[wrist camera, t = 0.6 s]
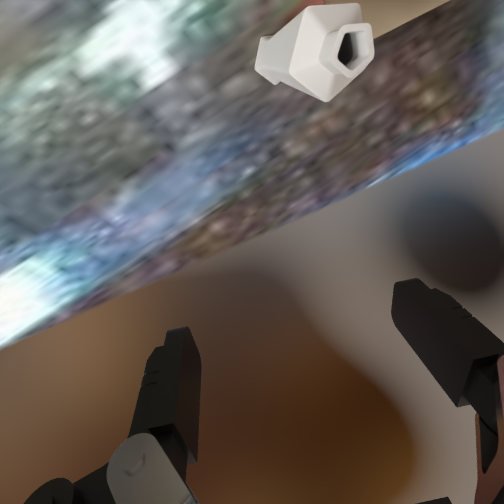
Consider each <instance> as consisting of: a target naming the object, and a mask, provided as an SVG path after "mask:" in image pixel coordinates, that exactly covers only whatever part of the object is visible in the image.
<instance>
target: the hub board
mask: <svg viewBox="0 0 504 504" xmlns="http://www.w3.org/2000/svg"><path fill="white" fill-rule="evenodd" d="M447 1H449V0H324V3H325V5H331V4H347V3H358V4H359V5H360V7H361V13H362V21H363V23H369V24H370V25H371V28H372V36H373V39H375V38H377V37H379V36H381V35H383V34H385V33H387V32H389V31H391V30H393V29H395V28H397V27H398V26H400V25H402V24H404V23H406V22H408V21H410V20H412V19H414V18H416V17H418V16H420V15H422V14H424V13H426V12H428V11H430V10H432V9H434V8H436V7H438V6H440V5H442V4H444V3H445V2H447Z"/></svg>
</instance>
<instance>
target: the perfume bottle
mask: <svg viewBox="0 0 504 504" xmlns="http://www.w3.org/2000/svg"><path fill="white" fill-rule="evenodd" d="M373 57H374V44H373V36H372V28H371V25H370V24H369V23H363V21H362V13H361V7H360V5H359V4H358V3H347V4H331V5H316V6H308V7H306V8H305V9H304V10H303V11H302V12H301V13H299V14H298V15H297V16H296V17H295V18H294V19H292V20H291V21H290V22H289V23H288V24H287V25H285V26H284V27H283V28H282V29H281V30H280V31H278V32H277V33H276V34H275V35H272V36H263V37H261V39H260V43H259V48H258V53H257V58H256V63H255V70H256V71H257V72H258V73H259V74H261V75H262V76H263V77H265V78H266V79H267V80H269V81H270V82H271V83H273V84H274V85H277V84H279V83H280V82H283V83H285V84H287V85H290V86H292V87H294V88H296V89H298V90H300V91H302V92H305V93H307V94H309V95H311V96H313V97H315V98H317V99H319V100H322V101H324V102H329V101H330V100H331V99H332V98H333V97H334V96H336V95H337V94H338V93H339V92H340V91H341V90H342V89H343V88H344V87H346V86H347V85H348V84H349V83H350V82H351V81H352V80H353V79H354V78H355V77H357V76H358V75H359V74H360V73H361V72H362V71H363V70H364V69H365V68H366V67H367V65H368V64H369V63H370V62H371V61H372V59H373Z"/></svg>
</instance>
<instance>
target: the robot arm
mask: <svg viewBox="0 0 504 504" xmlns="http://www.w3.org/2000/svg"><path fill="white" fill-rule="evenodd" d="M391 315H392V319H393V322H394V324H395V326H396V328H397V329H398V330H399V332H400V333H401V334H402V336H403V337H404V338H405V339H406V341H407V342H408V343H409V345H410V346H411V347H412V349H413V350H414V351H415V353H416V354H417V355H418V357H419V358H420V359H421V361H422V362H423V363H424V365H425V366H426V367H427V369H428V370H429V371H430V372H431V374H432V375H433V376H434V378H435V379H436V381H437V382H438V383H439V384H440V386H441V387H442V388H443V390H444V391H445V392H446V394H447V395H448V396H449V398H450V399H451V400H452V402H453V403H454V404H455V406H456V407H461V406H465V405H470V404H471V406H472V407H473V408H474V409H475V411H476V415H475V427H476V428H475V430H476V453H477V487H476V492H475V499H474V504H504V343H503V342H502V341H501V340H500V339H499V338H497V337H496V336H495V335H494V334H493V333H492V332H491V331H490V330H489V329H487V328H486V327H485V326H484V325H483V324H482V323H480V321H478V320H477V319H476V318H475V317H472V314H470V313H469V312H468V311H467V310H466V309H465V308H464V309H463V308H462V306H461V305H460V304H459V303H458V302H457V301H456V300H455V299H454V298H452V297H451V296H450V295H448V294H446V293H444V292H442V291H440V290H438V289H436V288H434V289H430V288H429V287H427V286H426V285H425V284H424V283H423V282H422V281H421V280H419V279H417V278H414V279H409V280H405V281H399V282H396V283H395V284H394V290H393V299H392V309H391ZM201 371H202V365H201V357H200V353H199V351H198V348H197V346H196V343H195V341H194V338H193V336H192V333H191V331H190V329H189V327H188V326H186V327H181V328H177V329H172V330H169V331H167V333H166V338H165V343H164V346H160V347H156V348H155V349H154V351H153V352H152V354H151V355H150V357H149V358H148V360H147V363H146V367H145V372H144V377H143V380H142V384H141V388H140V392H139V396H138V400H137V404H136V408H135V412H134V416H133V420H132V424H131V428H130V432H129V435H128V438H127V440H125V441H124V442H123V443H122V444H121V445H120V446H119V447H118V448H117V450H116V451H115V452H114V454H113V455H112V457H111V459H110V461H109V462H108V463H107V464H106V465H104V466H102V467H101V468H99V469H97V470H96V471H94V472H92V473H90V474H89V475H87V476H85V477H83V478H82V479H80V480H78V481H77V482H75V483H71V482H70V481H69V480H67V479H65V478H56V479H53V480H50V481H48V482H46V483H45V484H43V485H42V486H41V487H39V488H38V489H37V490H36V491H35V492H33V493H32V494H31V496H30V497H29V498H28V499H27V500H26V501H25V503H24V504H199V502H198V501H197V499H196V498H195V496H194V494H193V493H192V491H191V490H190V488H189V486H188V485H187V483H186V470H187V465H189V464H194V463H197V458H198V438H199V416H200V393H201V373H202V372H201ZM418 504H452V503H451V501H450V500H449V498H448V497H445V498H440V499H435V500H431V501H426V502H422V503H418Z"/></svg>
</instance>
